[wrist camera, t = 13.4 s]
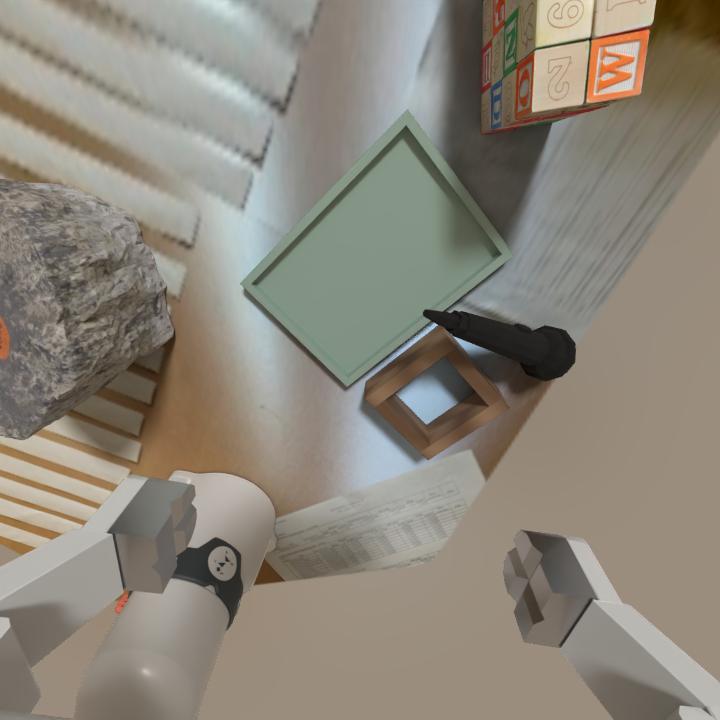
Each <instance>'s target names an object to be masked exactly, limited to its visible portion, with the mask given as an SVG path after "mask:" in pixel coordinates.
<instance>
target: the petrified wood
mask: <svg viewBox="0 0 720 720" xmlns="http://www.w3.org/2000/svg"><path fill="white" fill-rule="evenodd" d="M165 288H166V285H165V284H164V282H163V279H162V278H161V276H160V275H159V273H158V271H157V268H156V264H155V261H154V257H153V254H152V252H151V250H150V248H149V247H148V246H147V245H146V244H145V243H144V241H143V238H142V234H141V229H140V227H139V225H138V224H137V222H136V220H135V219H134V217H133V215H131V214H129V213H127V212H126V211H124V210H123V209H121V208H118V207H116V206H114V205H112V204H109V203H106V202H104V201H103V200H102V199H100V198H99V197H97V196H92V195H91V194H89V193H87V192H85V191H82V190H80V189H78V188H76V187H74V186H71V185H59V184H46V183H25V182H20V181H11V180H6V179H0V436H4V437H7V438H14V439H18V440H25V439H28V438H29V437H31V436H32V435H34V434H35V433H37V432H38V431H39V430H41V429H42V428H44V427H45V426H47V425H50V424H51V423H52V422H54V421H55V420H58V419H60V418H61V417H63V416H64V415H65V414H66V413H67V412H68V411H70V410H72V409H73V408H74V407H76V406H77V405H79V404H80V403H82V402H83V401H85V400H86V399H87V398H89V397H90V396H91V395H94V394H95V393H96V392H99V391H100V390H102V389H103V388H104V387H105V386H106V385H107V384H108V383H109V382H111V381H112V380H113V379H114V378H115V377H116V376H117V375H118V374H119V373H120V372H122V371H124V370H126V369H127V368H128V367H129V365H131V364H132V363H133V362H134V361H135V360H136V359H137V358H138V357H141V356H147V355H150V354H151V353H153V352H154V351H155V350H158V349H159V348H160V346H162V345H163V344H165V343H166V342H167V341H168V340H169V339H170V338H172V337H173V332H174V328H173V325H172V323H171V321H170V318H169V315H168V312H167V306H166V300H165V291H164V290H165Z"/></svg>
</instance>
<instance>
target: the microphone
mask: <svg viewBox="0 0 720 720" xmlns="http://www.w3.org/2000/svg"><path fill="white" fill-rule="evenodd" d="M423 316H424V317H425V318H427V319H429V320H431V321H433V322H434V323H436V324H438V325H440V326H442V327H444V328H445V329H446V330H447V331H448V332H449V333H450V334H452V336H454V337H457V338H459V339H462V340H465V341H467V342H470V343H472V344H475V345H477V346H480V347H482V348H485V349H488V350H490V351H493V352H495V353H498V354H500V355H503V356H505V357H508V358H511V359H513V360H516V361H518V362H519V363H520V364H521V366H522V368H523V369H524V371H525V373H526V374H527V375H529V376H532V377H535V378H538V379H540V380H543V381H548V380H552V379H555V378H558V377H561V376H563V375H564V374H565V373H567V372H568V370H569V369H570V368H571V367H572V365H573V364H574V363H575V354H576V348H575V342H574V341H573V340H572V338H571V337H570V336H569V334H568V333H567V332H566V330H563V329H559V328H554V327H550V326H543V327H541V328H538V329H536V330H533V331H532V330H531V329H530V328H529V327H527V326H525V325H522V324H519V323H518V324H515V325H514V326H513V325H510V324H506V323H502V322H499V321H495V320H492V319H488V318H485V317H481V316H478V315H474V314H470V313H467V312H463V311H460V312H458V311H456V310H454V311H453V312H452V313H448V312H442V311H435V310H429V309H425V310H424V311H423Z"/></svg>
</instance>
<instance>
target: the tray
mask: <svg viewBox="0 0 720 720" xmlns="http://www.w3.org/2000/svg"><path fill="white" fill-rule="evenodd" d="M513 256H514V254H513V253H512V251H511V250H510V249H509V247H508V246H507V245H506V243H505V242H504V240H503V239H502V238H501V236H500V235H499V234H498V232H497V231H496V230H495V228H494V227H493V225H492V224H491V223H490V221H489V220H488V219H487V217H486V216H485V214H484V213H483V212H482V210H481V209H480V208H479V206H478V205H477V203H476V202H475V201H474V199H473V198H472V197H471V195H470V194H469V193H468V191H467V190H466V188H465V187H464V186H463V184H462V183H461V182H460V180H459V179H458V177H457V176H456V175H455V173H454V172H453V171H452V169H451V168H450V167H449V165H448V164H447V162H446V161H445V160H444V158H443V157H442V156H441V154H440V153H439V151H438V150H437V149H436V147H435V146H434V145H433V143H432V142H431V141H430V139H429V138H428V136H427V135H426V134H425V132H424V131H423V130H422V128H421V127H420V125H419V124H418V123H417V121H416V120H415V119H414V117H413V116H412V115H411V113H410V112H409V110H408V109H407V110H406V111H405V112H404V113H403V114H402V115H401V117H400V118H399V119H398V120H397V121H396V122H395V123H394V124H393V125H392V126H391V127H390V128H389V129H388V130H387V131H386V132H385V133H384V134H383V135H382V136H381V137H380V138H379V139H378V140H377V141H376V143H375V144H374V145H373V146H372V147H371V148H370V149H369V150H368V151H367V152H366V153H365V154H364V155H363V156H362V157H361V158H360V159H359V160H358V161H357V162H356V163H355V164H354V165H353V166H352V167H351V169H350V170H349V171H348V172H347V173H346V174H345V175H344V176H343V177H342V178H341V179H340V180H339V181H338V182H337V183H336V184H335V185H334V186H333V187H332V188H331V189H330V190H329V191H328V192H327V194H326V195H325V196H324V197H323V198H322V199H321V200H320V201H319V202H318V203H317V204H316V205H315V206H314V207H313V208H312V209H311V210H310V211H309V212H308V213H307V214H306V215H305V216H304V217H303V218H302V220H301V221H300V222H299V223H298V224H297V225H296V226H295V227H294V228H293V229H292V230H291V231H290V232H289V233H288V234H287V235H286V236H285V237H284V238H283V239H282V240H281V241H280V242H279V243H278V244H277V246H276V247H275V248H274V249H273V250H272V251H271V252H270V253H269V254H268V255H267V256H266V257H265V258H264V259H263V260H262V261H261V262H260V263H259V264H258V265H257V266H256V267H255V268H254V269H253V270H252V272H251V273H250V274H249V275H248V276H247V277H246V278H245V279H244V280H243V281H242V282H241V283H240V284H241V285H242V286H243V287H244V288H245V289H246V290H247V291H248V292H249V293H250V294H251V295H252V296H253V297H254V298H255V299H256V300H257V301H259V302H260V303H261V304H262V305H263V306H264V307H265V308H266V309H267V310H268V311H269V312H270V313H271V314H272V315H273V316H274V317H275V318H276V319H277V320H278V321H279V322H280V323H281V324H282V325H283V326H284V327H286V328H287V329H288V330H289V331H290V332H291V333H292V334H293V335H294V336H295V337H296V338H297V339H298V340H299V341H300V342H301V343H302V344H303V345H304V346H305V347H306V348H307V349H308V350H309V351H310V352H311V353H312V354H314V355H315V356H316V357H317V358H318V359H319V360H320V361H321V362H322V363H323V364H324V365H325V366H326V367H327V368H328V369H329V370H330V371H331V372H332V373H333V374H334V375H335V376H336V377H337V378H338V379H339V380H340V381H342V382H343V383H344V384H345V385H346V386H347V387H348V386H349V385H350V384H352V383H353V382H354V381H355V380H357V379H358V378H359V377H360V376H362V375H363V374H364V373H365V372H367V371H368V370H369V369H371V368H372V367H373V366H374V365H376V364H377V363H378V362H379V361H381V360H382V359H383V358H385V357H386V356H387V355H388V354H390V353H391V352H392V351H393V350H395V349H396V348H397V347H398V346H400V345H401V344H402V343H404V342H405V341H406V340H407V339H409V338H410V337H411V336H412V335H414V334H415V333H416V332H417V331H419V330H420V329H421V328H423V327H424V326H425V325H426V324H428V323H429V322H430V321H431V320H429V319H427V318H425V317H424V316H423V311H424V310H425V309H429V310H435V311H442V312H443V311H444V310H445V309H447V308H448V307H449V306H450V305H452V304H453V303H454V302H456V301H457V300H458V299H459V298H461V297H462V296H463V295H464V294H466V293H467V292H468V291H469V290H471V289H472V288H473V287H475V286H476V285H477V284H478V283H480V282H481V281H482V280H483V279H485V278H486V277H487V276H488V275H490V274H491V273H492V272H494V271H495V270H496V269H497V268H499V267H500V266H501V265H502V264H504V263H505V262H506V261H507V260H509V259H510V258H511V257H513Z"/></svg>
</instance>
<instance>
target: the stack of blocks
mask: <svg viewBox="0 0 720 720" xmlns="http://www.w3.org/2000/svg"><path fill="white" fill-rule="evenodd" d="M655 5H656V0H483V50H482V97H481V133H482V134H488V133H494V132H501V131H507V130H513V129H517V128H521V127H528V126H534V125H541V124H547V123H553V122H556V121H560V120H562V119H565V118H568V117H572V116H575V115H578V114H582V113H585V112H589V111H593V110H596V109H600V108H602V107H606V106H609V105H610V104H612V103H615V102H618V101H622V100H625V99H628V98H631V97H634V96H637V95H639V94H640V93H641V87H642V80H643V73H644V66H645V59H646V53H647V45H648V38H649V27H650V26H651V24H652V22H653V20H654V11H655Z"/></svg>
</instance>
